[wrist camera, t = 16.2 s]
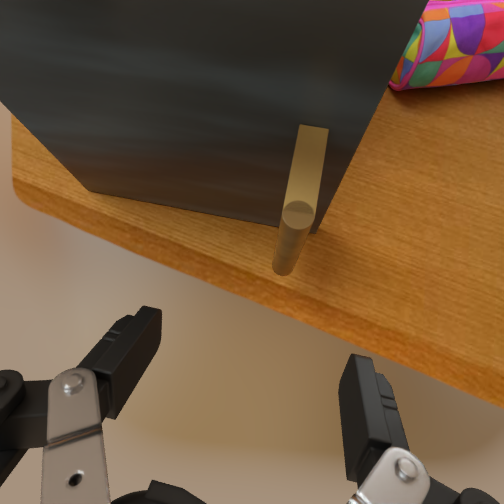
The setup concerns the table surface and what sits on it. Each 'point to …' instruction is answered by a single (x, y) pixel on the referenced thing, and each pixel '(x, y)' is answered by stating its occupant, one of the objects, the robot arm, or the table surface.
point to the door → (206, 98)
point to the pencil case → (454, 45)
